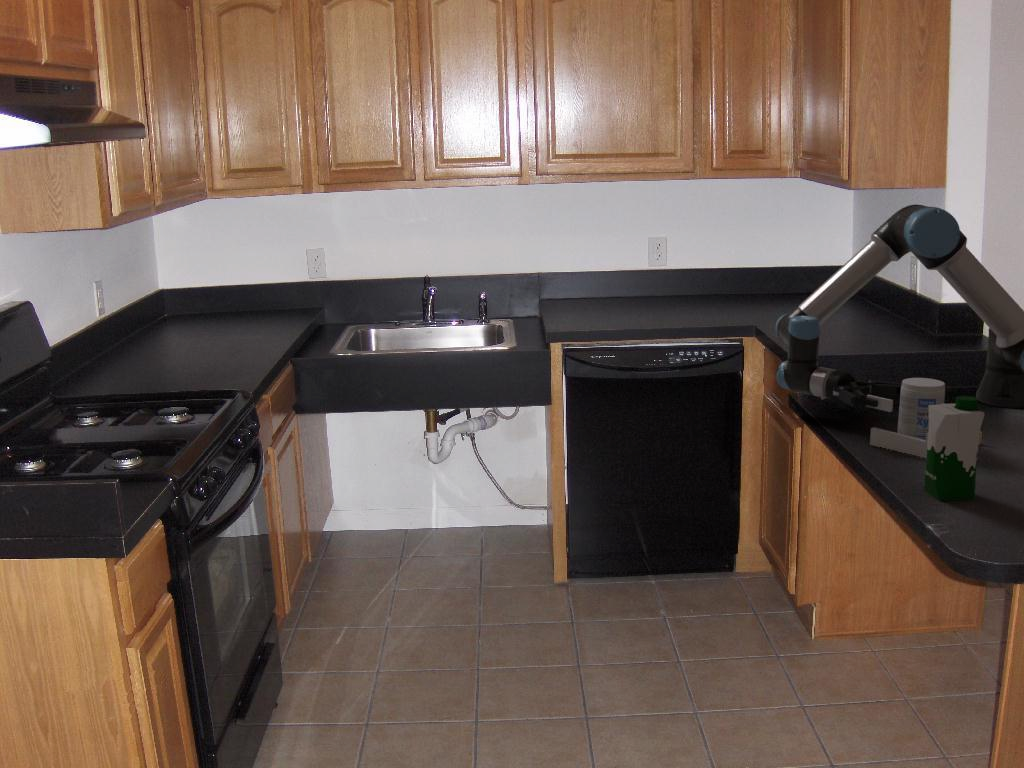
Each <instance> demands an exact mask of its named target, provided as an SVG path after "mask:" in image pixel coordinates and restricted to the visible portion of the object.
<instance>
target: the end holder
mask: <svg viewBox="0 0 1024 768" xmlns="http://www.w3.org/2000/svg"><path fill="white" fill-rule="evenodd" d="M869 445H870V446H874V447H878V448H880V447H882V448H881V449H884V448H886V449H885V450H888V449H890V450H889V451H892V450H895V451H898V452H897V453H899V452H902V453H901V454H903V453H907V454H912V455H916V456H920V457H924V458H927V445H928V433H926V440H923V439H919V438H915V437H911V436H907V435H903V434H899V433H897V432H894V431H891V430H888V429H887V430H885V429H883V428H879V427H875V426H874V427H871V428H870V436H869ZM895 451H894V452H895ZM907 454H906V455H907Z"/></svg>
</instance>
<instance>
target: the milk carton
mask: <svg viewBox="0 0 1024 768" xmlns="http://www.w3.org/2000/svg"><path fill="white" fill-rule="evenodd" d="M978 403H979V401H978V398H976V396H972V395H957V396H956V397H955V403H944V404H940V405H928V407H929V432H928V445H927V459H925V460H926V461H925V474H924V486H923V489H925V490H924V491H925V492H927V491H928V492H929V494H930V493H931V494H930V495H931V496H933V498H935V499H937V501H940V502H948V501H969V500H975V495H976V480H977V479H976V477H977V467H978V465H977V464H978V455H979V446H980V445H979V434H980V432H981V427H982V424H983V422H984V421H983V420H984V417H985V412H984V411H982V410H981V409H980V408H979V407H978ZM978 445H979V446H978ZM928 492H927V493H928Z"/></svg>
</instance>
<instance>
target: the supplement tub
mask: <svg viewBox="0 0 1024 768" xmlns="http://www.w3.org/2000/svg"><path fill="white" fill-rule="evenodd" d="M901 383H902V386H901V393H900V396H899V407H898V408H899V409H898V421H897V432H896V433H899V434H903V435H907V436H911V437H915V438H919V439H923V440H926V433H928V432H929V407H928V405H940V404H945V399H946V398H945V397H946V383H945V382H944V381H942V380H939V379H935V378H926V377H910V378H909V377H908V378H905V379H903V380H902V381H901Z"/></svg>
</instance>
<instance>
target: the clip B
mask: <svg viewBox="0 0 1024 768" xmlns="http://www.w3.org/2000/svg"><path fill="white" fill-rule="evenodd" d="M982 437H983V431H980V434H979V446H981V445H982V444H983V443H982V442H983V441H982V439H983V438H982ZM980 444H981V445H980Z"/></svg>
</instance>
